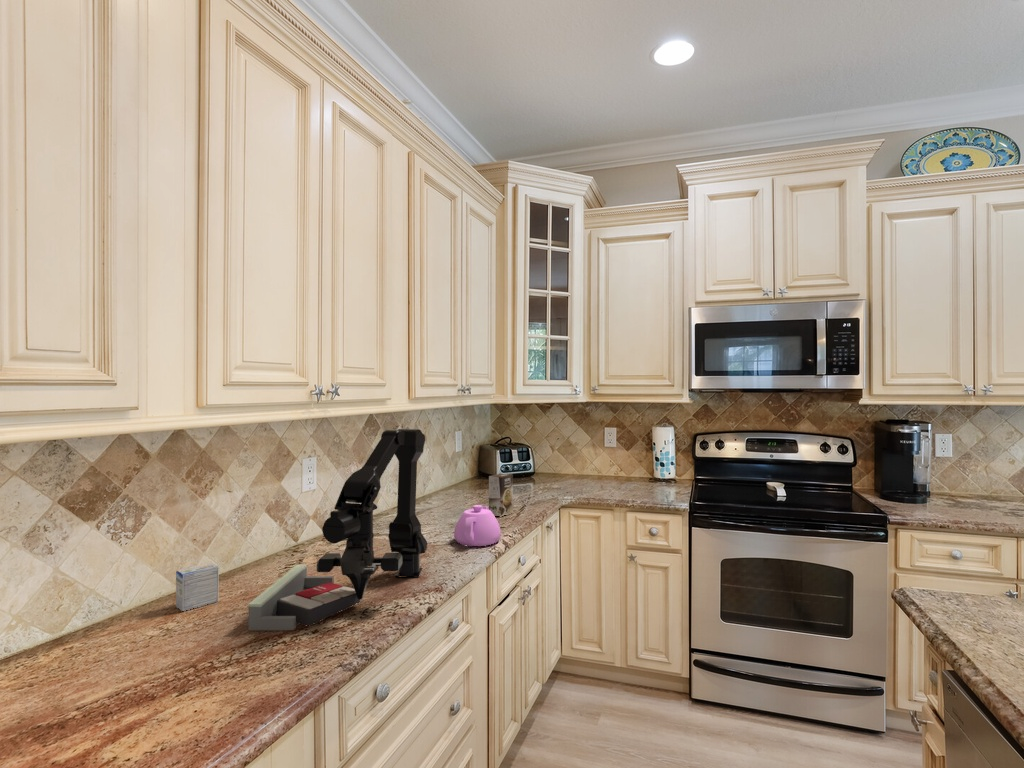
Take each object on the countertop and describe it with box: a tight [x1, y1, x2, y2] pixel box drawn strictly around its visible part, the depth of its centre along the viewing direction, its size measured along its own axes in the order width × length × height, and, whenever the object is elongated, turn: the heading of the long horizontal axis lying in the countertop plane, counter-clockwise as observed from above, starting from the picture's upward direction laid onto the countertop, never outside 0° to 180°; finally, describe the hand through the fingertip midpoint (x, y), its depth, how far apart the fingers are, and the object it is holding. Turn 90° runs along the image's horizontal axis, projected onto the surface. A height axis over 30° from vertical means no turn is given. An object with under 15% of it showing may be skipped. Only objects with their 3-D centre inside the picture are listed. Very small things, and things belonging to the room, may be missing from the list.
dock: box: [247, 564, 335, 631], centre depth 128 cm, size 26×10×6 cm, turn 0°
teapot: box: [453, 504, 502, 547], centre depth 182 cm, size 22×16×12 cm
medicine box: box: [175, 562, 220, 612], centre depth 129 cm, size 8×4×9 cm, turn 141°
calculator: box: [276, 582, 361, 627], centre depth 126 cm, size 11×4×15 cm
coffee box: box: [488, 473, 514, 516], centre depth 221 cm, size 9×6×16 cm
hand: (360, 599), depth 128 cm, fingers closed
